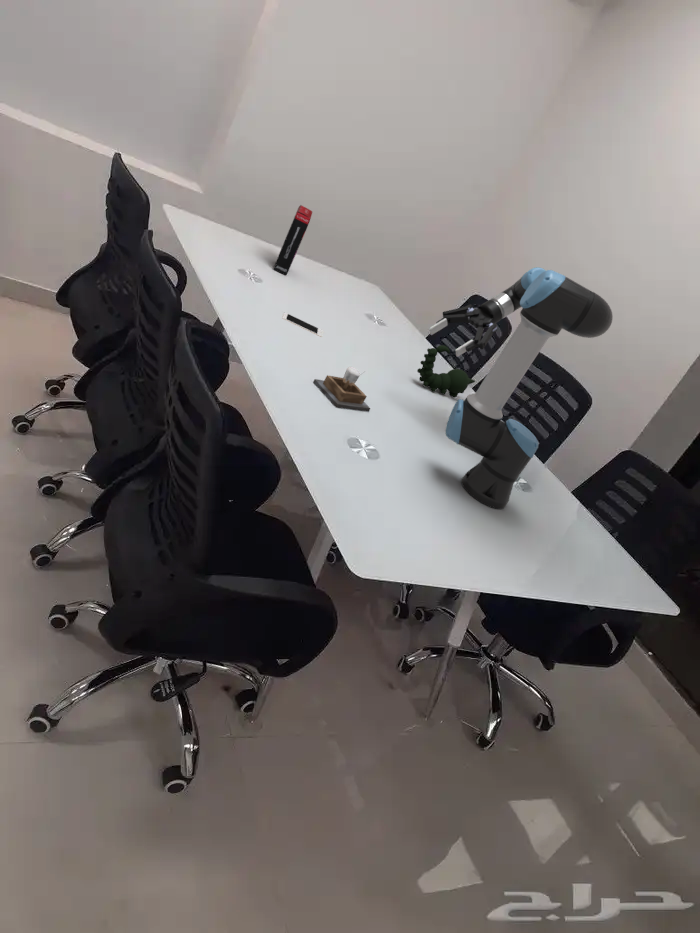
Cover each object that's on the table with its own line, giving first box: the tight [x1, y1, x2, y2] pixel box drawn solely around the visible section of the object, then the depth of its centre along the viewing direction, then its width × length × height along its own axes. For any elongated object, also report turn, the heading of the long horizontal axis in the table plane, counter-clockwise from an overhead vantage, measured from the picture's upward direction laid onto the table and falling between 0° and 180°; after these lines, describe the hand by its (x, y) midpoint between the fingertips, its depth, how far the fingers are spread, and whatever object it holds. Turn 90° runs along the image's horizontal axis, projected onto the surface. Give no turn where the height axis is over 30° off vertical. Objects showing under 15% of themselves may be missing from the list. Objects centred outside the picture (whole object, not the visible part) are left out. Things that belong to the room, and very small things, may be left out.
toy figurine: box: [417, 344, 476, 398], centre depth 275 cm, size 9×19×25 cm
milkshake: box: [340, 366, 365, 392], centre depth 224 cm, size 4×5×10 cm
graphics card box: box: [273, 204, 313, 276], centre depth 314 cm, size 17×7×27 cm, turn 1°
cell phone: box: [282, 312, 324, 338], centre depth 269 cm, size 8×16×1 cm, turn 90°
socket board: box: [313, 374, 371, 412], centre depth 226 cm, size 14×14×4 cm
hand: (443, 342), depth 228 cm, fingers open, 13 cm apart
